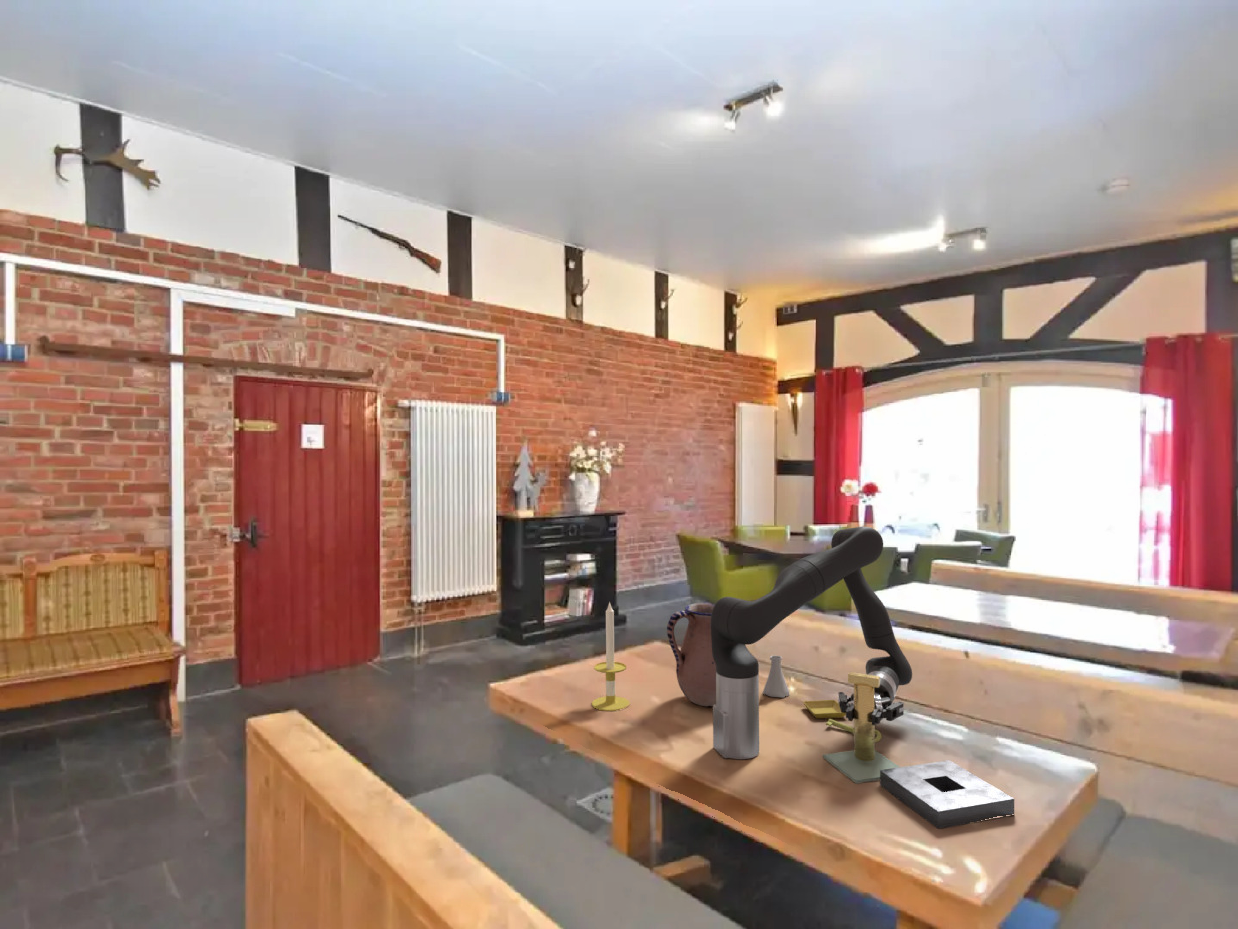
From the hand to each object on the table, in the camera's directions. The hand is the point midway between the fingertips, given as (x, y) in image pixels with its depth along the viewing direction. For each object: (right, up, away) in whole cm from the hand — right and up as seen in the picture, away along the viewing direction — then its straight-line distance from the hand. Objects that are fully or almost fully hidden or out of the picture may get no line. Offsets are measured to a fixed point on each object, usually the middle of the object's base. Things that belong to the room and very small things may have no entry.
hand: (861, 718), depth 138 cm
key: (+5, -11, +19) cm, 23 cm away
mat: (+1, -11, +2) cm, 11 cm away
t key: (+1, -9, +3) cm, 9 cm away
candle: (-52, -11, +39) cm, 66 cm away
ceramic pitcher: (-27, -11, +39) cm, 49 cm away
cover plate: (+11, -11, -12) cm, 19 cm away
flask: (-7, -11, +46) cm, 48 cm away
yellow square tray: (+2, -11, +32) cm, 34 cm away
